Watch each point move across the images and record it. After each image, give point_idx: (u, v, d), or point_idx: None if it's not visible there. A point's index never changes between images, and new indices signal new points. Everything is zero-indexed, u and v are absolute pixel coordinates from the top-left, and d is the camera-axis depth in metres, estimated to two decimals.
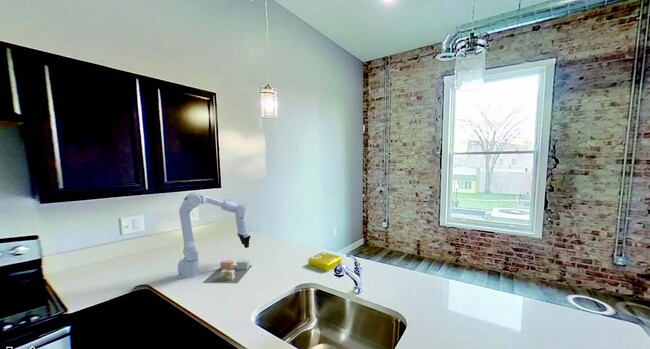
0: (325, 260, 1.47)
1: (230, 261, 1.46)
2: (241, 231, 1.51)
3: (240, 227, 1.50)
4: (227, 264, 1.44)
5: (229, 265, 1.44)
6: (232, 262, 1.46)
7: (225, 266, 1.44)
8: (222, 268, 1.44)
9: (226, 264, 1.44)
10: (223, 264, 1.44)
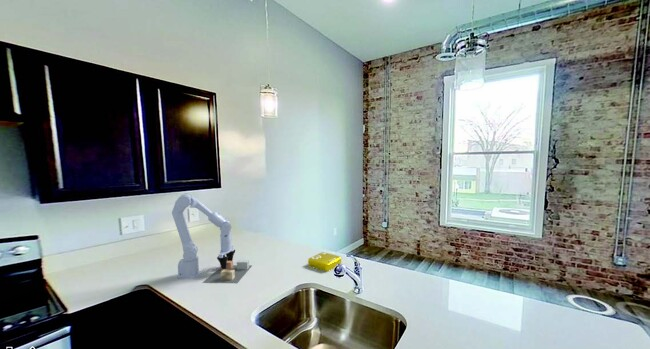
0: (325, 260, 1.47)
1: (230, 261, 1.46)
2: (222, 250, 1.42)
3: (221, 245, 1.42)
4: (227, 264, 1.44)
5: (229, 265, 1.44)
6: (232, 262, 1.46)
7: None
8: None
9: None
10: None
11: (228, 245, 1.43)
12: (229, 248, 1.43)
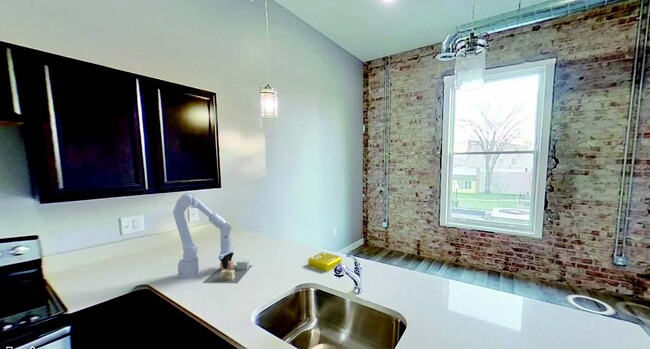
0: (325, 260, 1.47)
1: (230, 261, 1.46)
2: (222, 251, 1.42)
3: (221, 246, 1.42)
4: None
5: (229, 265, 1.44)
6: (232, 262, 1.46)
7: None
8: (222, 268, 1.44)
9: None
10: None
11: (228, 246, 1.43)
12: (229, 249, 1.43)
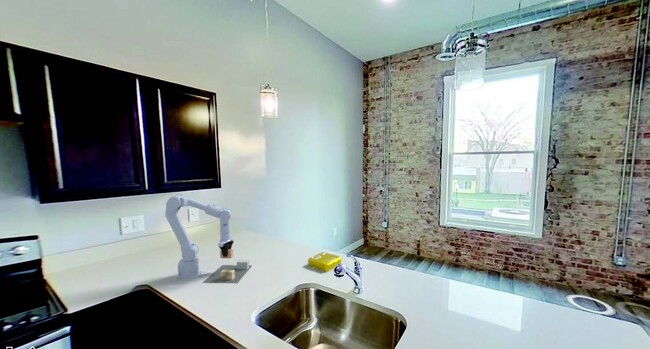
0: (325, 260, 1.46)
1: (230, 250, 1.43)
2: (221, 239, 1.40)
3: (221, 234, 1.40)
4: None
5: (229, 253, 1.41)
6: (232, 251, 1.43)
7: None
8: (222, 257, 1.41)
9: None
10: None
11: (228, 234, 1.40)
12: (229, 237, 1.41)
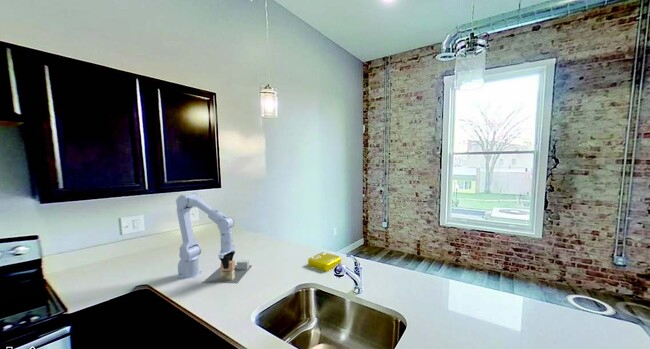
0: (325, 260, 1.46)
1: (231, 261, 1.33)
2: (222, 249, 1.30)
3: (221, 244, 1.30)
4: None
5: (230, 265, 1.31)
6: (234, 262, 1.33)
7: None
8: (223, 268, 1.31)
9: None
10: None
11: (229, 244, 1.30)
12: (230, 248, 1.31)
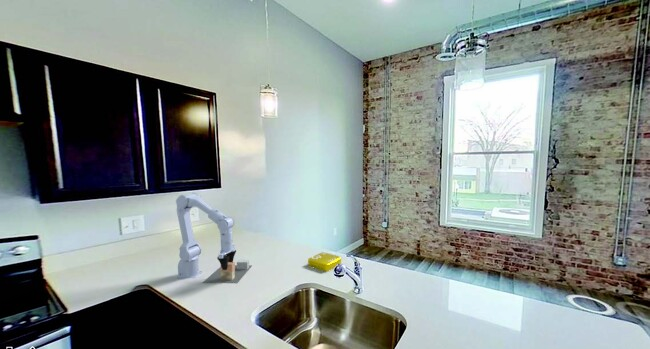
0: (325, 260, 1.46)
1: (231, 263, 1.33)
2: (222, 249, 1.30)
3: (221, 244, 1.30)
4: (228, 266, 1.31)
5: (230, 267, 1.31)
6: (234, 264, 1.33)
7: None
8: (223, 270, 1.31)
9: None
10: None
11: (229, 244, 1.30)
12: (230, 248, 1.31)
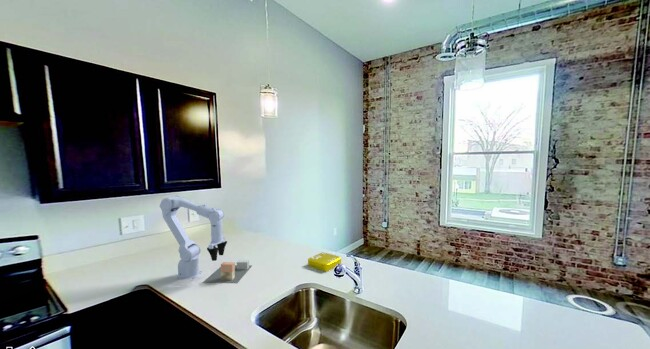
0: (325, 260, 1.46)
1: (231, 263, 1.33)
2: (212, 240, 1.34)
3: (212, 236, 1.34)
4: (228, 266, 1.31)
5: (230, 267, 1.31)
6: (234, 264, 1.33)
7: (226, 268, 1.31)
8: (223, 270, 1.31)
9: (227, 266, 1.31)
10: (224, 266, 1.31)
11: (219, 235, 1.35)
12: (220, 239, 1.35)
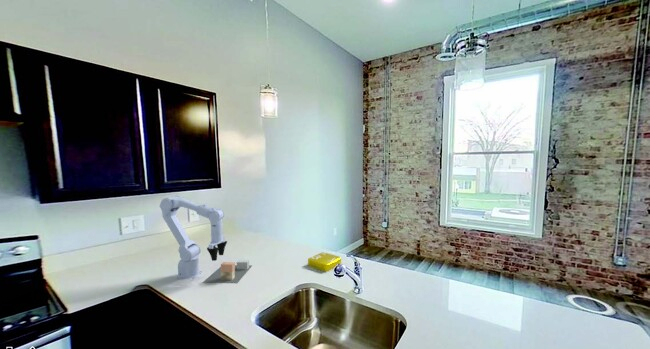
0: (324, 260, 1.46)
1: (231, 263, 1.33)
2: (212, 240, 1.34)
3: (212, 235, 1.34)
4: (228, 266, 1.31)
5: (230, 267, 1.31)
6: (234, 264, 1.33)
7: (226, 268, 1.31)
8: (223, 270, 1.31)
9: (227, 266, 1.31)
10: (224, 266, 1.31)
11: (219, 235, 1.35)
12: (220, 239, 1.35)
